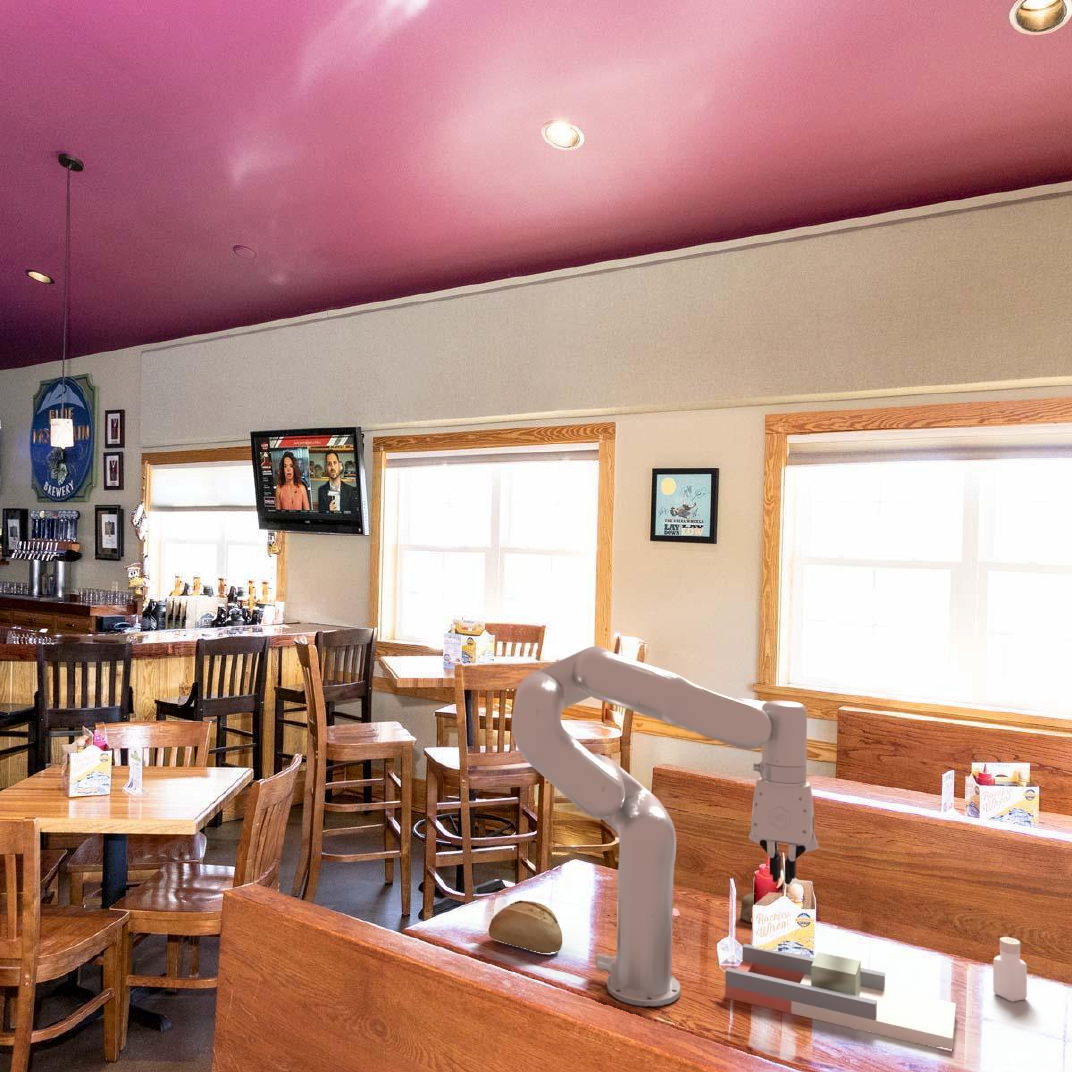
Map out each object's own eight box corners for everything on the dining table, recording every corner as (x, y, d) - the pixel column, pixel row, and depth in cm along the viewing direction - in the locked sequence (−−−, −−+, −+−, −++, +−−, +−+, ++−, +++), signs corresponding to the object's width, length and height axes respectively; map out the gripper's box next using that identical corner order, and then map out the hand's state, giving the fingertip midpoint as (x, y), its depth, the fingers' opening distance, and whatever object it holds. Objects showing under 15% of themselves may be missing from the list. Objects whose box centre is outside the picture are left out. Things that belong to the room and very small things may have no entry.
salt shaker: (1012, 1003, 153) (1012, 946, 153) (991, 993, 157) (991, 937, 157) (1028, 999, 155) (1028, 943, 155) (1007, 989, 158) (1007, 934, 159)
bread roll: (501, 931, 179) (502, 890, 179) (571, 945, 173) (572, 902, 173) (479, 949, 170) (480, 906, 171) (552, 964, 164) (553, 919, 165)
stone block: (794, 934, 181) (794, 908, 182) (738, 922, 187) (738, 898, 187) (800, 924, 186) (800, 900, 187) (745, 913, 192) (746, 890, 192)
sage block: (811, 995, 150) (811, 965, 150) (817, 981, 155) (817, 952, 155) (855, 1006, 146) (855, 974, 147) (860, 991, 152) (860, 961, 152)
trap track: (725, 997, 153) (725, 970, 153) (744, 968, 164) (744, 943, 164) (952, 1051, 137) (952, 1021, 137) (955, 1015, 148) (956, 987, 148)
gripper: (733, 771, 157) (732, 879, 156) (826, 783, 149) (825, 896, 149) (744, 764, 163) (743, 867, 162) (834, 774, 156) (833, 882, 155)
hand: (782, 880), depth 156 cm, fingers closed
